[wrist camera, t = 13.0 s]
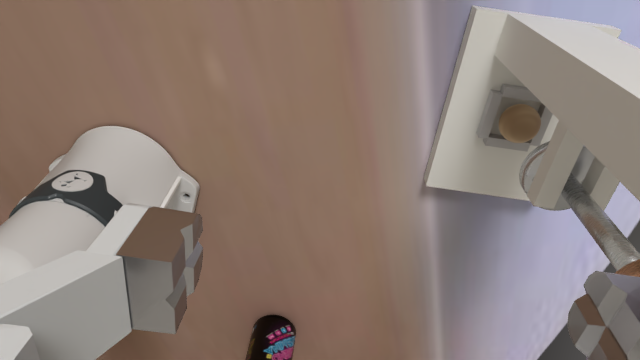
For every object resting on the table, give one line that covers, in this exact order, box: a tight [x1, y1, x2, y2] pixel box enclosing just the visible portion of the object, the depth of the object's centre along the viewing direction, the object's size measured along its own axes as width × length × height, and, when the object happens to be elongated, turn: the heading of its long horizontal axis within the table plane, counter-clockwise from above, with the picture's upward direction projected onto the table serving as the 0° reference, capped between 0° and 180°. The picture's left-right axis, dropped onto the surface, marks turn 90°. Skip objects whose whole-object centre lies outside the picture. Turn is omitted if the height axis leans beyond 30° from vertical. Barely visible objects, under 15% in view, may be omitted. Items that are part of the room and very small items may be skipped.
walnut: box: [499, 104, 541, 143], centre depth 47 cm, size 4×4×4 cm
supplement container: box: [245, 315, 296, 360], centre depth 66 cm, size 7×7×10 cm
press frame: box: [424, 6, 640, 211], centre depth 37 cm, size 20×14×30 cm
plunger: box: [519, 141, 640, 277], centre depth 31 cm, size 6×6×17 cm
